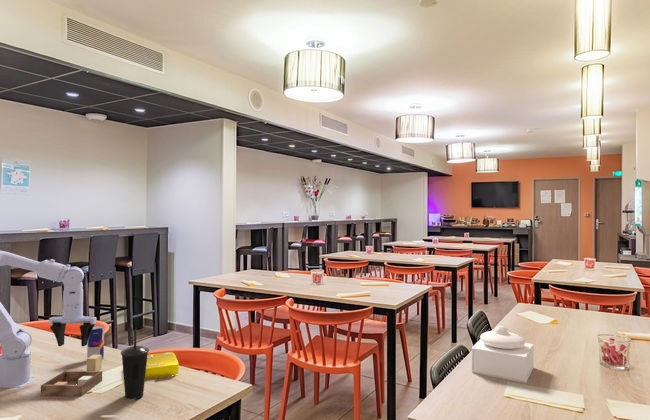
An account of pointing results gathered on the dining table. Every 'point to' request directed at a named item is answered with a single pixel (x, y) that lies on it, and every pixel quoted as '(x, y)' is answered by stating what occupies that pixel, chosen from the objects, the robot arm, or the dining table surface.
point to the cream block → (83, 379)
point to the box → (71, 383)
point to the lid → (94, 363)
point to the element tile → (161, 365)
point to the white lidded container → (503, 355)
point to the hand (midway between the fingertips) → (72, 345)
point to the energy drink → (96, 342)
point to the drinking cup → (134, 369)
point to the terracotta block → (61, 383)
